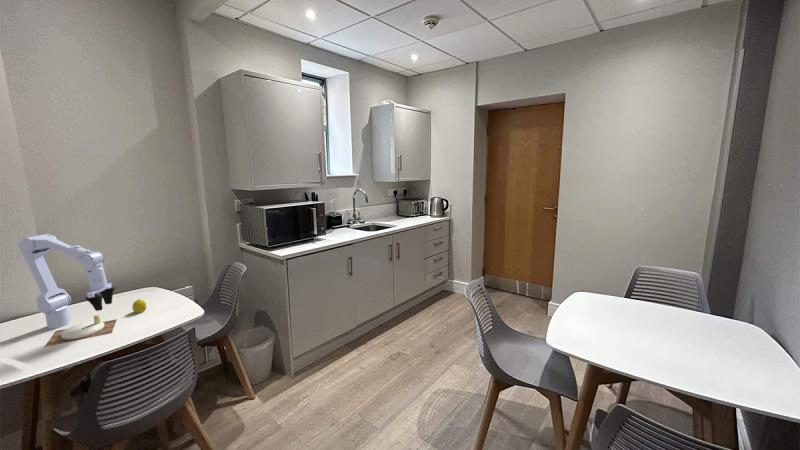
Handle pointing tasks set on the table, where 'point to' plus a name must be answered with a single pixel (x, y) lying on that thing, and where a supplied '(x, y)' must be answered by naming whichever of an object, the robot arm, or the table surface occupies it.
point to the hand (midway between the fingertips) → (104, 307)
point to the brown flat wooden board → (58, 340)
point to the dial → (83, 329)
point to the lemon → (139, 306)
